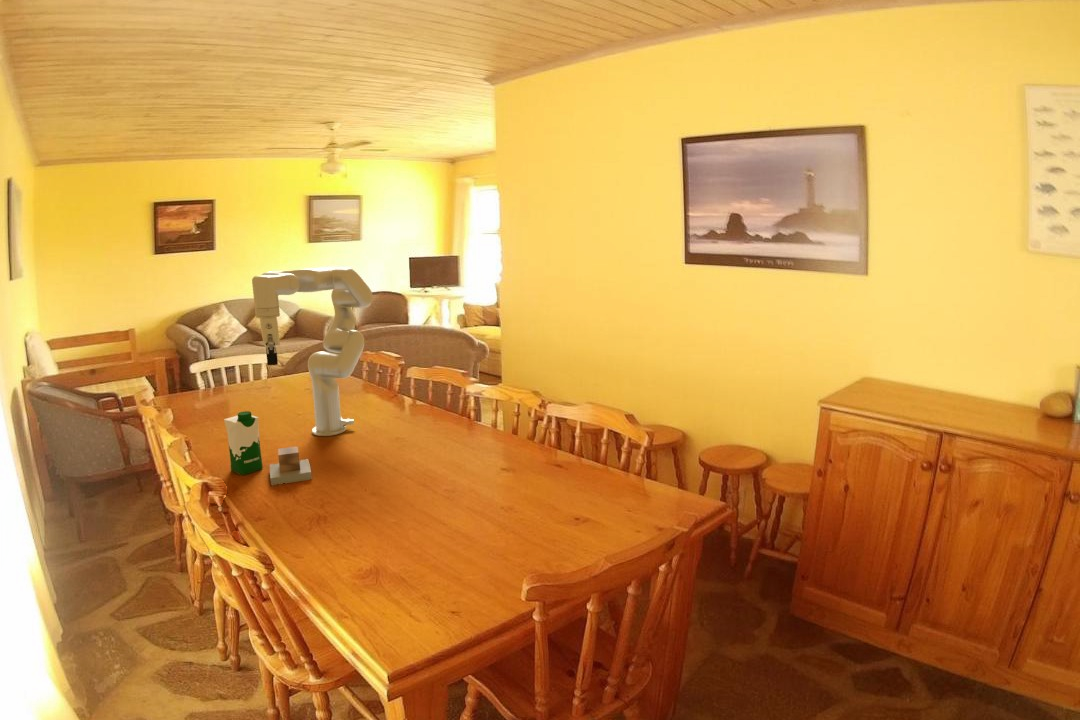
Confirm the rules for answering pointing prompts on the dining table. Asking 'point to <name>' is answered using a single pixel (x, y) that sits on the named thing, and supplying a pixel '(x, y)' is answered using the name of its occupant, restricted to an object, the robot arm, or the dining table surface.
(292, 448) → the walnut block
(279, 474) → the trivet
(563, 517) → the dining table surface
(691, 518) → the dining table surface
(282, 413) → the dining table surface
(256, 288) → the robot arm
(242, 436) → the soya milk
